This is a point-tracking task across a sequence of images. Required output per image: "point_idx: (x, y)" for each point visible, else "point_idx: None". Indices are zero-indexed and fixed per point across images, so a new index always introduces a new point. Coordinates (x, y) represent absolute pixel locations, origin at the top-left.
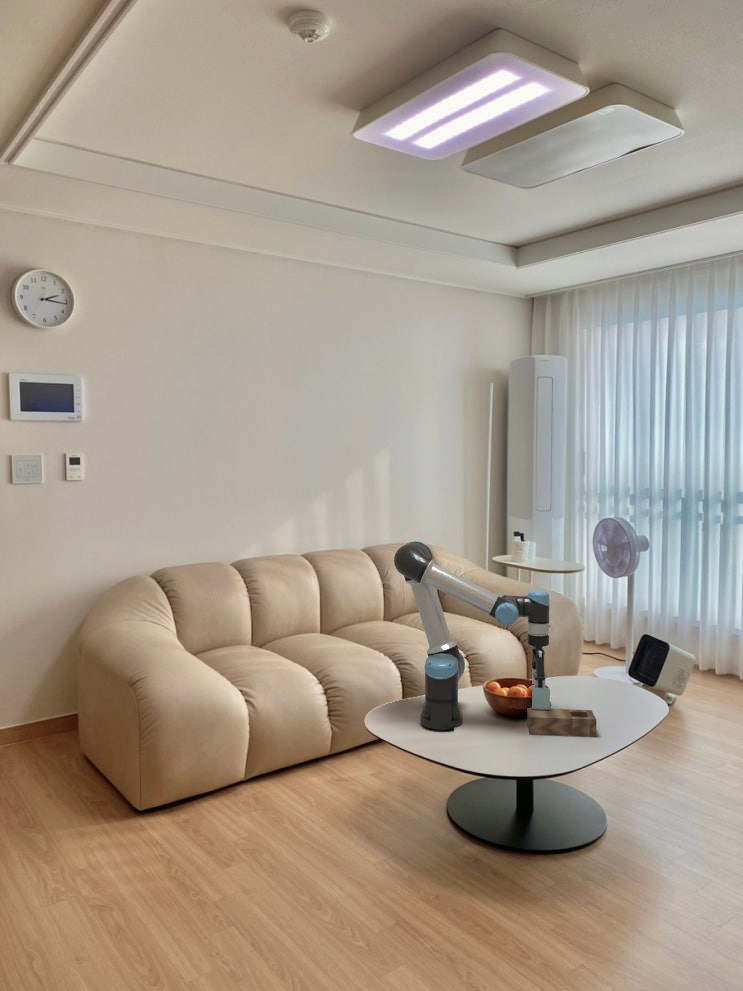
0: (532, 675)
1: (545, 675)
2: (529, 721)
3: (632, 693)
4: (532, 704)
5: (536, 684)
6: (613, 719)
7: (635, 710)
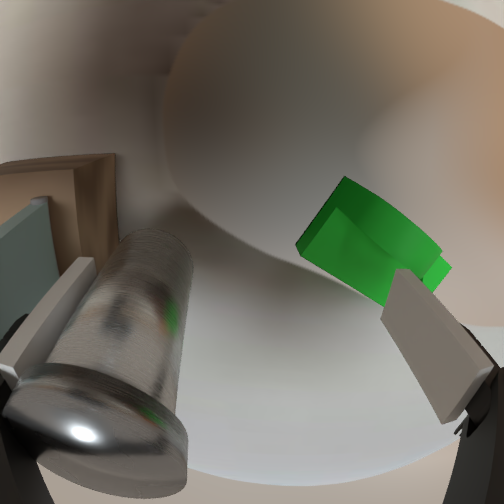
0: (447, 327)
1: (62, 473)
2: None
3: (418, 452)
4: (20, 212)
5: (21, 329)
6: (233, 438)
7: (307, 467)
